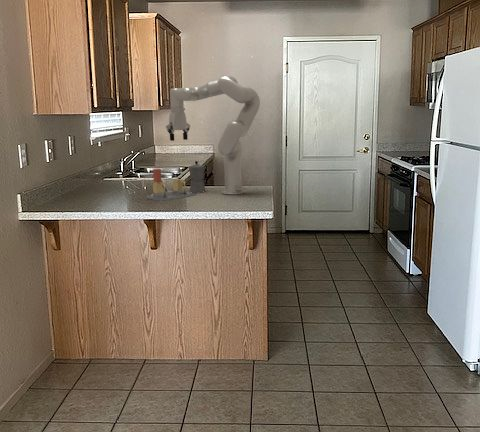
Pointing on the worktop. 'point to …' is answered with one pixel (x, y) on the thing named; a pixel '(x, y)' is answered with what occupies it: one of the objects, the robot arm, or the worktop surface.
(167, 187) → the grey stapler
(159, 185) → the block
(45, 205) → the worktop surface
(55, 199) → the worktop surface
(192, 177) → the coffeepot
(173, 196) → the gauge plate
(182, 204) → the worktop surface
